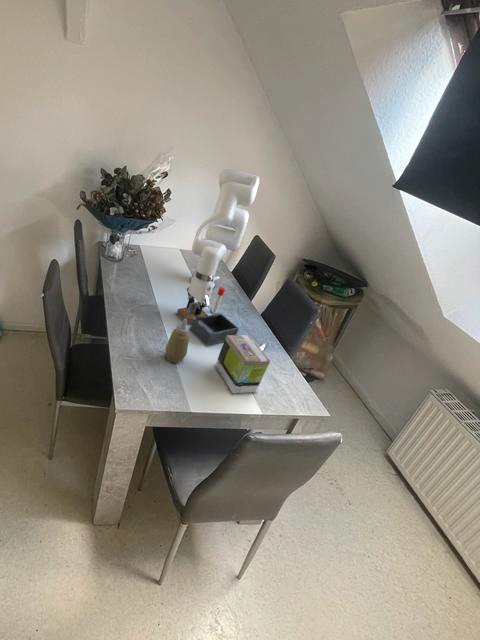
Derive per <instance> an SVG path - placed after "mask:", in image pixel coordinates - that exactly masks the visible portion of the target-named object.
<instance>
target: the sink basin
mask: <svg viewBox="0 0 480 640" xmlns="http://www.w3.org/2000/svg"><path fill="white" fill-rule="evenodd" d="M189 331H190V332H192V333H193V334H194V335H195V336H196V337H197V338H198V339H199V340H200V341H201V342H202V343H203V344H204V345H205V346H206V347H207V346H212V345H216V344H219V343H224V341H225V338H226V336H227V335H237V334H238V331H239V327H238V326H237V325H236V324H235V323H233V322H232V321H231V320H229V319H228V318H227V317H226V316H225V315H224V314H222V313H221V312H219V313H216V314H214V313H213V314H211V315H209V314H208V316H204V317H199V318H194V319H193V321H192V323H191V325H190V328H189Z"/></svg>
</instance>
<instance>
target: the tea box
mask: <svg viewBox="0 0 480 640" xmlns="http://www.w3.org/2000/svg"><path fill="white" fill-rule="evenodd" d="M259 347H260V346H259V345H258V344H257V342H255V341H254V339H253V338H252V336H250V334H249V335H247V334H244V335H243V334H238V335H237V334H236V335H227V336H226V338H225V341H224V342H223V343H222V347H221V349H220V352H219V354H218V357H217V360H216V362H215V367H216V369H217V370H218V372H219V373H220V376H221V377H222V378H223V380H224V382H225V383H226V385H227V387H228V388H229V390H230V392H231V393H233V394H241V393H244V394H245V393H246V394H247V393H256V392H257V391H258V388H259V386H260V384H261V382H262V380H263V377H264V376H265V374H266V371H267V369H268V367H269V365H270V363H271V360H270V358H269V357H268V356H267V354H265V352H264V351H263V352H262V350H261V349H260V348H259Z"/></svg>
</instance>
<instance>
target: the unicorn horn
mask: <svg viewBox="0 0 480 640" xmlns="http://www.w3.org/2000/svg"><path fill="white" fill-rule="evenodd" d="M266 344H267V343H263V344H261V345H260V346H258V347H259V348H260V349H261V350H262V352H263V353H264V349H265V348H266Z"/></svg>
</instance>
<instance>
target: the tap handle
mask: <svg viewBox="0 0 480 640" xmlns="http://www.w3.org/2000/svg"><path fill="white" fill-rule="evenodd" d="M196 307H198V301H196V302H195V301H194V303H190V305H189V308H188V313H195V310H196Z"/></svg>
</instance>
